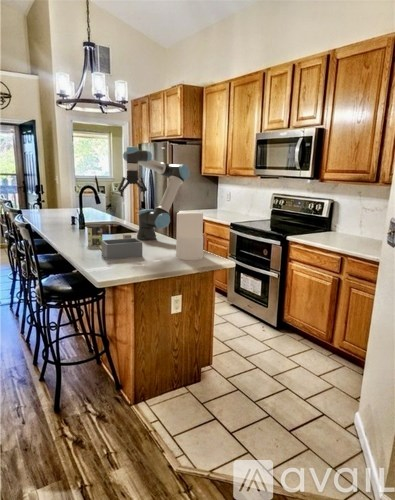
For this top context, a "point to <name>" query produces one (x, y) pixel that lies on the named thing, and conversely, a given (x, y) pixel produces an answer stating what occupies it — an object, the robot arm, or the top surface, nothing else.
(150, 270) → the top surface
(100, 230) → the coffee can
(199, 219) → the cylinder
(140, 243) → the tub
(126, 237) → the lid
